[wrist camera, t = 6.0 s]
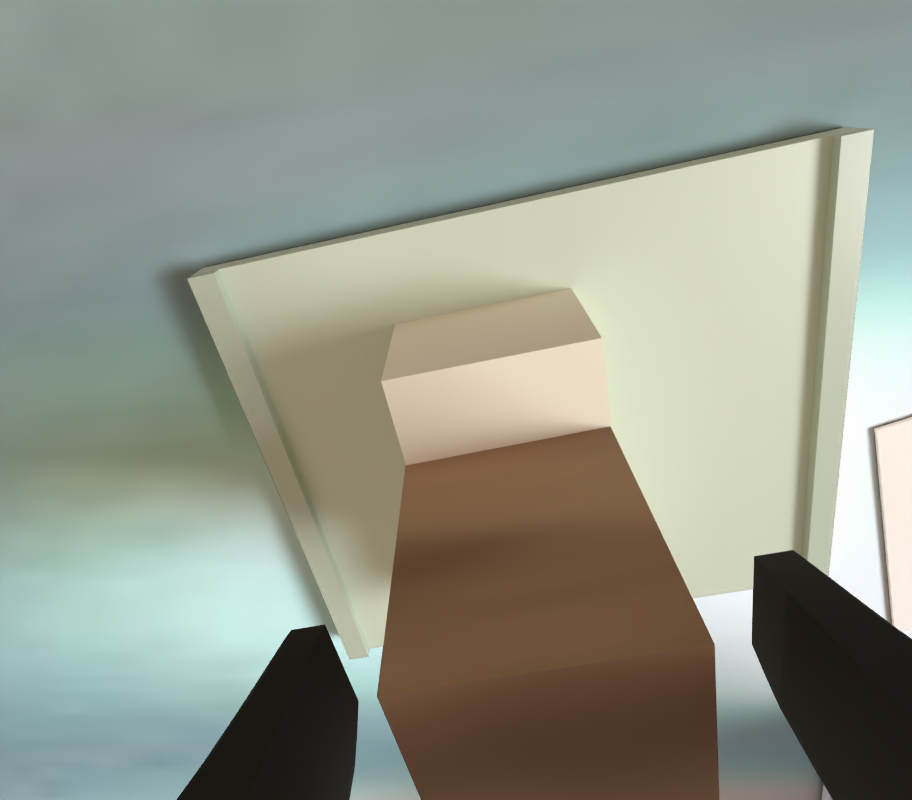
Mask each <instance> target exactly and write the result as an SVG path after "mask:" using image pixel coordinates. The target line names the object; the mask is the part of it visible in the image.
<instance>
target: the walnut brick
mask: <svg viewBox="0 0 912 800" xmlns="http://www.w3.org/2000/svg"><path fill="white" fill-rule="evenodd" d="M377 697H378V700H379V702H380V704H381V707H382V709H383V711H384V714H385V716H386V718H387V721H388V723H389V725H390V728H391V730H392V733H393V735H394V737H395V740H396V742H397V744H398V747H399V749H400V751H401V754H402V756H403V758H404V761H405V763H406V765H407V768H408V770H409V772H410V775H411V777H412V779H413V782H414V784H415V786H416V789H417V791H418V793H419V796H420V798H421V800H719V779H718V746H717V713H716V680H715V647H714V642H713V640H712V638H711V636H710V634H709V632H708V630H707V628H706V626H705V624H704V621H703V619H702V617H701V615H700V613H699V611H698V609H697V607H696V605H695V603H694V600H693V598H692V596H691V594H690V592H689V590H688V588H687V586H686V584H685V582H684V579H683V577H682V575H681V573H680V571H679V569H678V567H677V565H676V563H675V561H674V558H673V556H672V554H671V552H670V550H669V548H668V546H667V544H666V542H665V540H664V538H663V535H662V533H661V531H660V529H659V527H658V525H657V523H656V521H655V519H654V517H653V514H652V512H651V510H650V508H649V506H648V504H647V502H646V500H645V498H644V496H643V493H642V491H641V489H640V487H639V485H638V483H637V481H636V479H635V477H634V475H633V472H632V470H631V468H630V466H629V464H628V462H627V460H626V458H625V456H624V454H623V452H622V449H621V447H620V445H619V443H618V441H617V439H616V437H615V435H614V433H613V431H612V428H611V426H610V427H605V428H600V429H595V430H589V431H584V432H579V433H574V434H568V435H563V436H558V437H553V438H547V439H542V440H537V441H532V442H526V443H521V444H516V445H511V446H505V447H500V448H495V449H490V450H484V451H479V452H474V453H469V454H463V455H458V456H453V457H448V458H442V459H437V460H432V461H427V462H421V463H416V464H411V465H406V466H405V473H404V481H403V489H402V497H401V506H400V514H399V522H398V530H397V538H396V546H395V554H394V562H393V571H392V579H391V587H390V595H389V603H388V611H387V619H386V627H385V636H384V644H383V652H382V660H381V668H380V676H379V684H378V692H377Z"/></svg>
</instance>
